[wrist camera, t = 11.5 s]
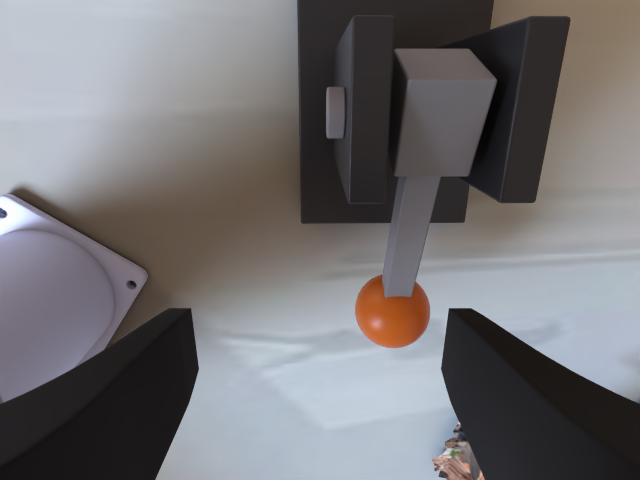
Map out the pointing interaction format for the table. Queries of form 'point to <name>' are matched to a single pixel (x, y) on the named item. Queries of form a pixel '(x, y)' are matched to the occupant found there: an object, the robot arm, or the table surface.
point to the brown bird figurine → (458, 459)
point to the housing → (375, 102)
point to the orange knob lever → (422, 176)
